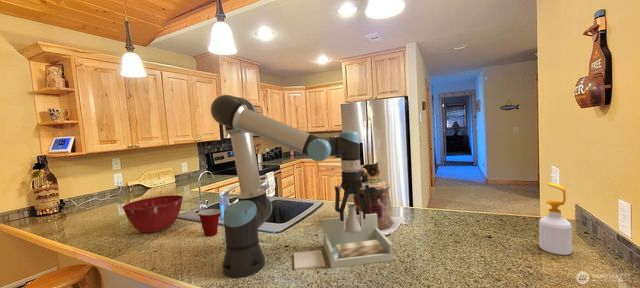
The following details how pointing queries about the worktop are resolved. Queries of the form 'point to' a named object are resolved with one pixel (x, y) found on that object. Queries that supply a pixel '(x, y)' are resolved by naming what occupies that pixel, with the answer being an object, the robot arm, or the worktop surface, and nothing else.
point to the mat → (308, 260)
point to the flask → (353, 221)
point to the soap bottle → (555, 228)
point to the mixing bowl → (153, 213)
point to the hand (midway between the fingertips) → (353, 227)
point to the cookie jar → (378, 199)
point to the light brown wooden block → (359, 249)
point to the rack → (370, 231)
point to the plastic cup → (209, 221)
